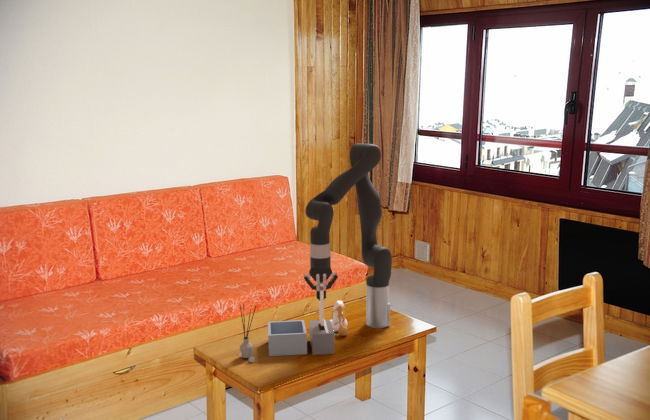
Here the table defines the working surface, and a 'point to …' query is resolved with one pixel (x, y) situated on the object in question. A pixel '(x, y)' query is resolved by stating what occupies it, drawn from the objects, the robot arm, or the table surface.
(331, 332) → the dispenser
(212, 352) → the table surface
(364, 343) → the table surface
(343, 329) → the figurine
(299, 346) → the bin
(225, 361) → the table surface
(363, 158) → the robot arm
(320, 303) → the ticket
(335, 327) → the white creature statuette
